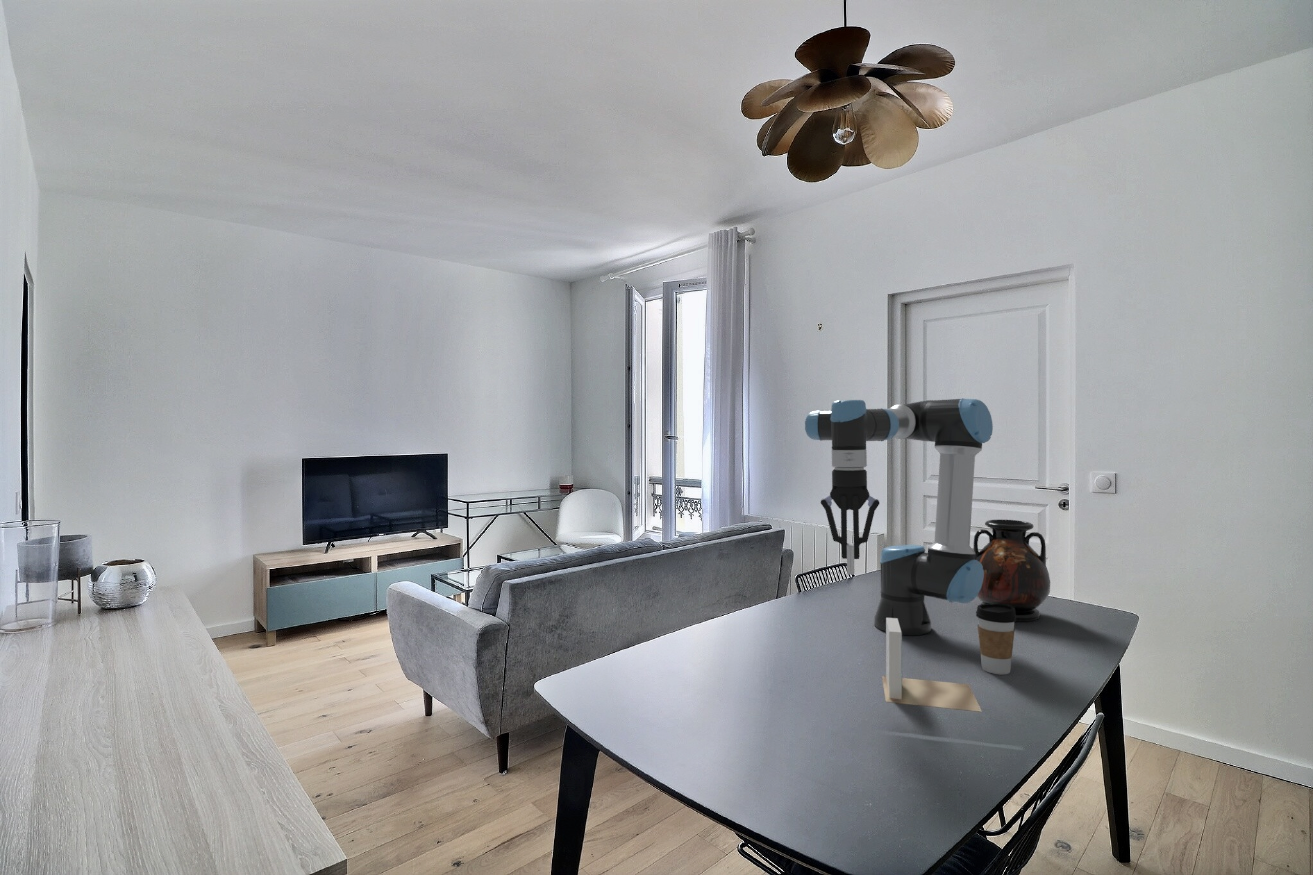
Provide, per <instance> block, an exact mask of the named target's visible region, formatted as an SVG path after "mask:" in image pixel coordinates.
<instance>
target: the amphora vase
mask: <svg viewBox="0 0 1313 875" xmlns="http://www.w3.org/2000/svg"><path fill="white" fill-rule="evenodd" d="M984 525H985V526H986V527H988V528H990V529H991V532H992V533H991V532H990V531H989V530H987V529H979V530H977V531H976V532H975V535H974V536H973V548H972V549H973V551H974V552H975V560H977V561H979V562H980V563H981V564H982V566H983V570H984V578H983V583H982V587H981V589H980V591H979V593H978V595H977V596H976V598H977V599H978V600H979V601H980V603H979V604H978V605H981V604H1007V605H1011V606H1013V607H1015V613H1016V621H1015V622H1032V621H1036V620H1037V619H1039V618H1040V617H1041V611H1040V609H1038V608H1039V607H1040V606H1041V605H1042V604H1044V603H1045V601H1046V600H1047V599H1048V597H1049V594H1050V593H1051V578H1050V573H1049V570H1048V568H1047V548H1046V539H1045V538H1044V536H1043V535H1042V534H1041V533H1039V532H1035V531H1034V532H1030V533H1029V534H1027V531H1031V530H1032V529H1034V524H1033V523H1031V522H1029V521H1024V520H1013V519H990V520H989V519H988V520H986V521H985V522H984ZM982 534H985V535H987V537H988V543H986V545H985V546H984V547H982V549H981V550H980V551H979V548H978V547H979V544H978V543H979V538H980V536H981V535H982ZM1026 534H1027V535H1026ZM1033 537H1036V538H1038V539H1039V541H1040V554H1038V553H1037V551H1035V550H1034V549H1033V547H1032V546H1031V545H1030V539H1032V538H1033Z"/></svg>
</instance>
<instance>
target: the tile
mask: <svg viewBox="0 0 1313 875" xmlns="http://www.w3.org/2000/svg"><path fill="white" fill-rule="evenodd" d="M885 635H886V636H885V668H886V669H885V676H886V682H887V687H888V693H889V698H893V699H902V678H903V635H902V632H901V629H900V625H899V622H898V618H886V631H885Z"/></svg>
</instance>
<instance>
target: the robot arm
mask: <svg viewBox="0 0 1313 875" xmlns="http://www.w3.org/2000/svg"><path fill="white" fill-rule="evenodd" d="M993 427H994V426H993V419H992V415H991V411H990V409H989V408H988V406H987V405H986V403H984V402H983V401H982V400H980V399H976V398H954V399H953V398H952V399H935V400H933V399H930V400H922V401H916V402H915V401H914V402H911V403H905V404H895V405H893V406H891V407H890V408H883V407H882V408H867V406H866V402H865V401H864V400H862V399H842V400H835V401H833V402H832V404H831V410H829V409H826V410H824V409H820V410H812V411H811V412H809V413H808V414H807V415H806V418H805V420H804V430H805V433H806V435H807V437H809V439H811V440H815V441H820V442H821V441H831V467H832V468H834V469H833V470H832V471H831V485H832V486H831V490H830V492H829V495H828V496H827V497H824V498H822V499H821V500H820V504H821V506H822V507H823V509H824V510H825V514H826V518H827V522H828V525H829V529H830V533H831V534H830V535H831V536H832V540H833V542H836V543H839V544H840V546H841V549H840V550H841V559H843V560H844V559H845V560H846V575H854V576H855V560H859V559H860V545H861V544H864V543H867V542H868V541H869V536H870V532H871V527H872V525H873V520H874V517H875V516H874V515H875V512H876V510H877V508H878V507H879V506H880V500H879V499H878V498H877V499H876V498H874V497H873V496H871V495H870V491H869V490H868V473H867V472H868V471H867V470H866V469H865V468H866V467H867V466H868V464H867V463H868V462H867V458H868V457H867V456H868V455H867V442H884V441H887V440H889V441H890V439H897V440H902V439H903V440H905V439H906V440H912V441H920V442H921V441H922V442H931V443H932V442H934V448H935V449H936V451H937V452H938V453H939V466H938V480H937V481H938V483H937V498H936V512H935V513H936V514H935V525H934V526H935V529H934V541H933V542H932V543H931V544H930V545H929V546H928V547H927V552H926V549H925V546H923V545H919V544H900V545H891V546H886V547H884V548H883V549H882V550H881V551H880V561H879V564H880V600H879V602H878V606H877V608H876V610H875V614H874V619H873V620H874V621H873V622H874V626H875V627H876V629H879V630H880V631H883V632H886V618H898V622H899V625H900V629H901V632H902V636H920V635H921V636H922V635H926V634H928V633H931V632H932V621H931V618H930V614H929V612H928V609H927V606H926V602H925V597H929V598H935V599H939V600H944V601H947V602H949V603H957V604H958V603H959V604H968V603H971V602H972V601H974V600H975V599H976V598H977V595H978V593H979V591H980V589H981V587H982V583H983V578H984V570H983V566H982V564H981V563H980V562H979V561H977V560H975V552H974V551H973V548H972V547H971V545H970V543H971V529H972V527H971V525H972V514H973V513H972V510H973V494H974V479H975V478H974V477H975V462H976V455H978V454H979V453H980V452H982V450H983V444H985V443H987V442H989V441H990V440H991V438H992V435H993ZM832 500H833V502H834V504H836V506H837V507H838V509H840V521H841V522H840V531H841V532H840V535H841V536H840V535H839V532H838V528H837V525H836V521H835V517H834V513H833V510H832V506H833V503H832ZM866 502H867V505H868V507H869V508H868V511H867V514H866V520H865V523H864V528H863V532H862V536H860V516H859V515H860V514H859V511H860V509H862V507H863V505H865V504H866ZM850 510H851V511H852V523H853V524H852V525H853V528H852V529H853V531H852V533H853V543H852V542H851V543H850V542H849V543H848V513H847V512H848V511H850Z"/></svg>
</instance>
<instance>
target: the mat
mask: <svg viewBox="0 0 1313 875" xmlns="http://www.w3.org/2000/svg"><path fill="white" fill-rule="evenodd" d="M881 679H882V680H881V681H882V686H883V690H884V691H883V692H884V699H885V702H886V703H891V704H893V703H895V704H902V705H903V704H904V705H911V706H912V705H914V706H921V707H931V708H939V709H940V708H942V709H952V710H960V711H962V710H963V711H969V712H971V711H972V712H980V713H982V712H983V711H982V709H981V706H980V705H979V703H978V700H977V698H976V697H975V695H974V692H973V690H972V688H971V686H970V684H969V683H958V682H949V681H937V680H936V681H935V680H927V679H918V678H916V679H915V678H905V677H902V699H893V698H889V693H888V687H887V682H886V675H885V676H884V675H881Z"/></svg>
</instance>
